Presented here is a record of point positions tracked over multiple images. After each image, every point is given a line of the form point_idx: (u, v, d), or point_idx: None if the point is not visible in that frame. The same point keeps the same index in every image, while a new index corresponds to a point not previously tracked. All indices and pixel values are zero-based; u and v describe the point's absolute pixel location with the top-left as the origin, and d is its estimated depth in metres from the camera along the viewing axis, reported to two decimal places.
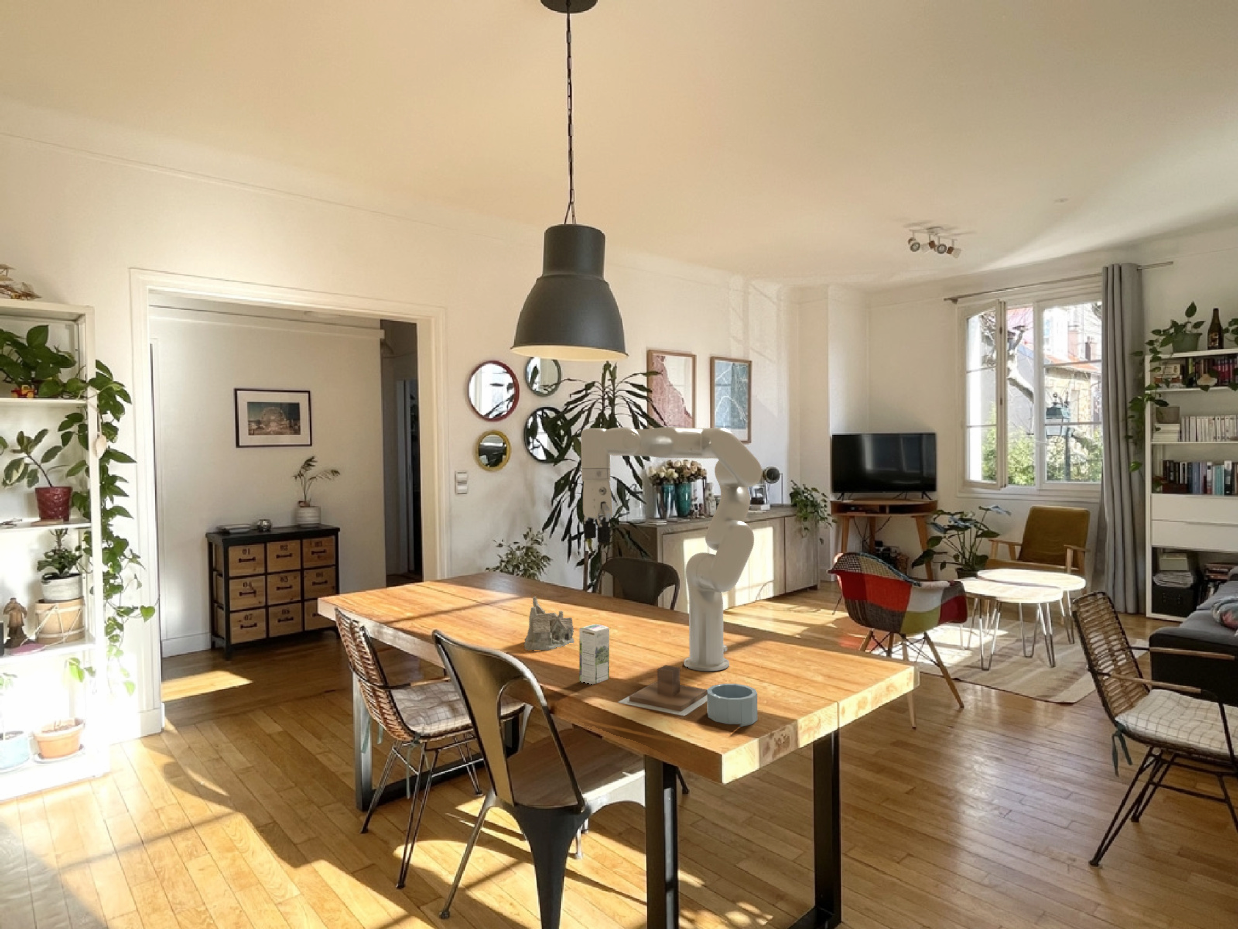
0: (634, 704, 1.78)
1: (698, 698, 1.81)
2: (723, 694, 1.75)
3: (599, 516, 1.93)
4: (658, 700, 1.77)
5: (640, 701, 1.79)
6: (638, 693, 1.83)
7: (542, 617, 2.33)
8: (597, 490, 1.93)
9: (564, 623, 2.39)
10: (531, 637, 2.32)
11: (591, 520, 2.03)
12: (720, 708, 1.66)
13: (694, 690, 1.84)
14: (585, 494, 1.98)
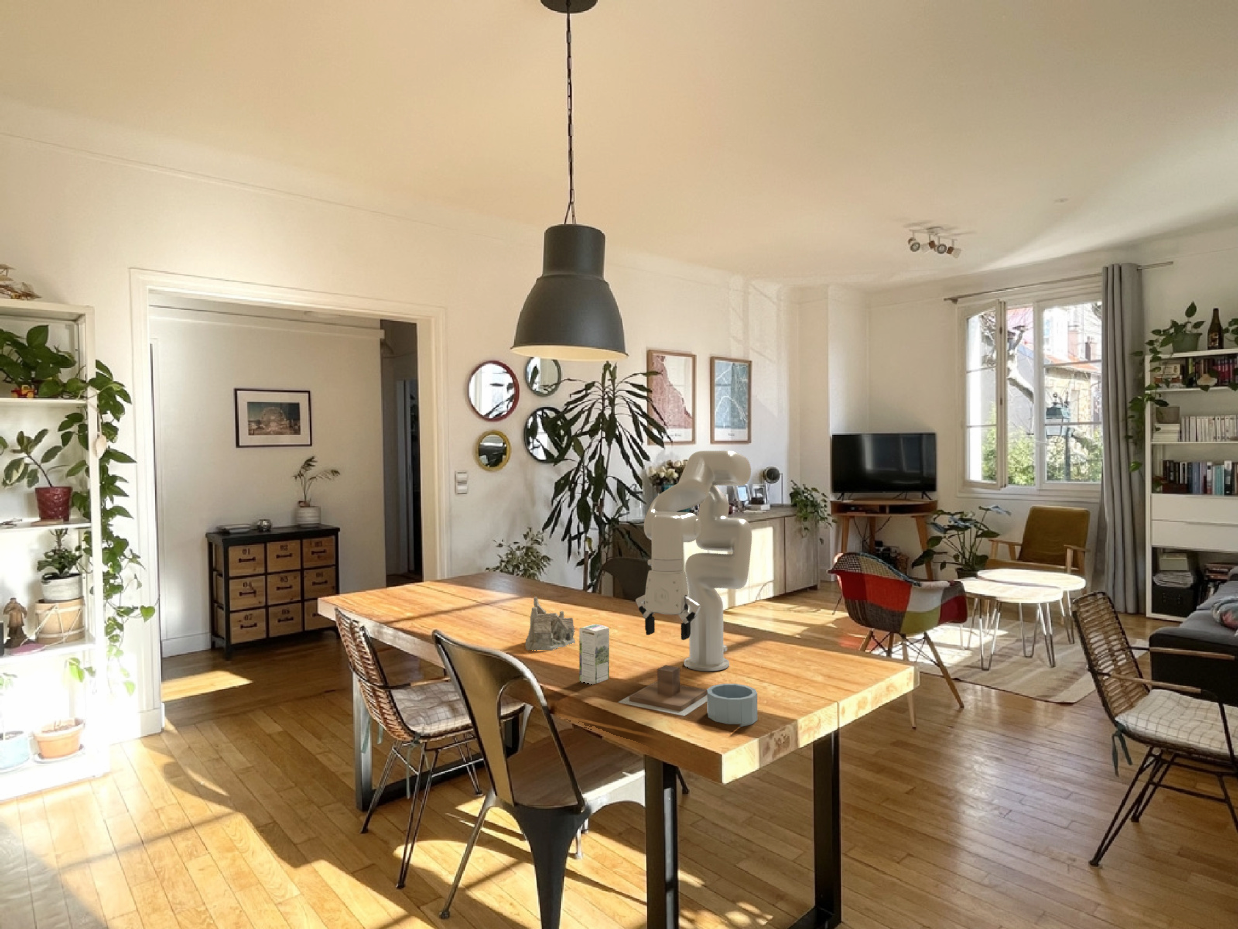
0: (634, 704, 1.78)
1: (698, 698, 1.81)
2: (723, 694, 1.75)
3: None
4: (658, 700, 1.77)
5: (640, 701, 1.79)
6: (638, 693, 1.83)
7: (543, 617, 2.33)
8: None
9: (565, 623, 2.39)
10: (532, 637, 2.31)
11: None
12: (720, 708, 1.66)
13: (694, 690, 1.84)
14: None
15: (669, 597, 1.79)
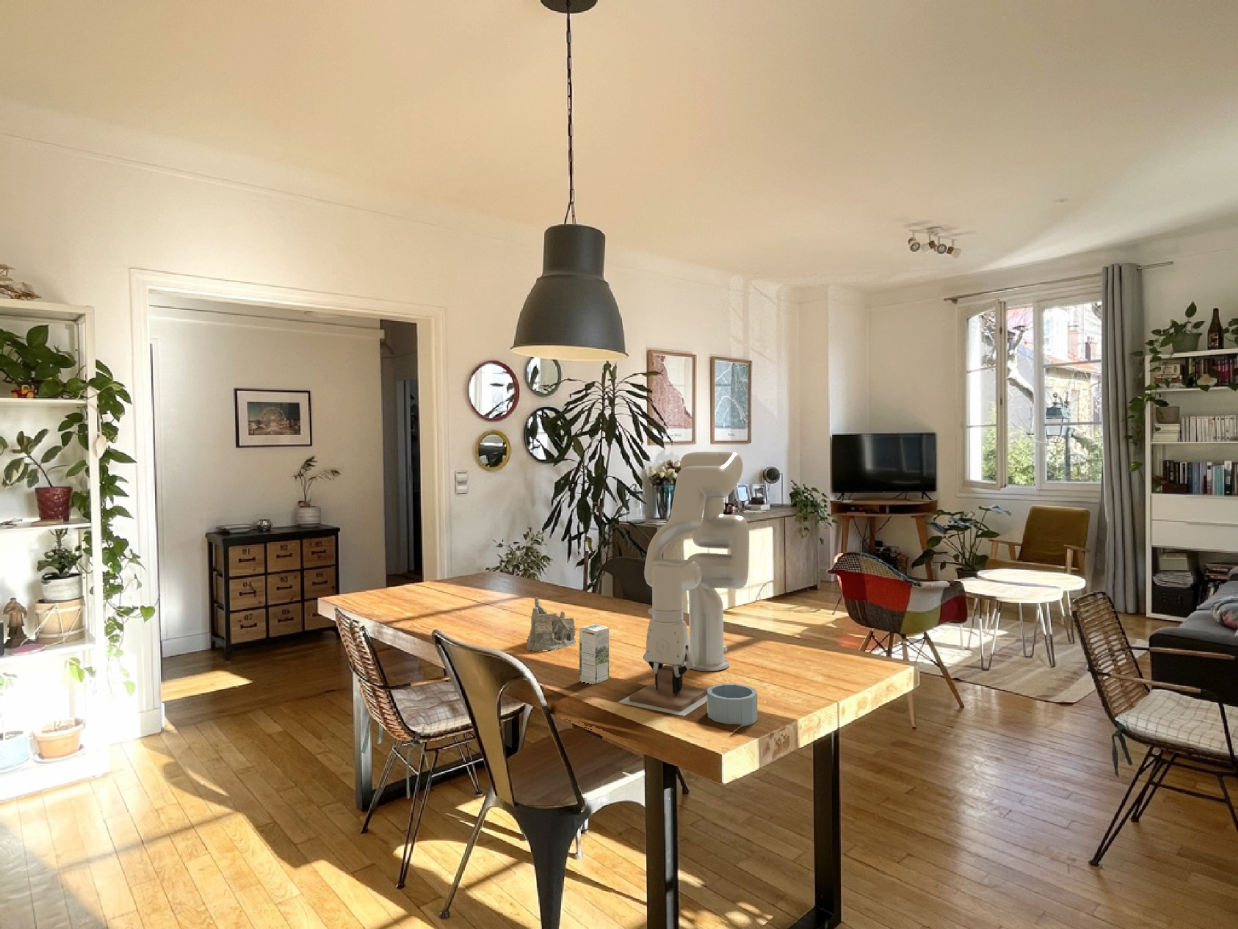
0: (634, 704, 1.78)
1: (698, 698, 1.81)
2: (723, 694, 1.75)
3: None
4: (658, 700, 1.77)
5: (640, 701, 1.79)
6: (638, 693, 1.83)
7: (544, 617, 2.32)
8: None
9: (566, 623, 2.38)
10: (533, 638, 2.31)
11: None
12: (720, 708, 1.66)
13: (694, 690, 1.84)
14: None
15: (670, 648, 1.79)
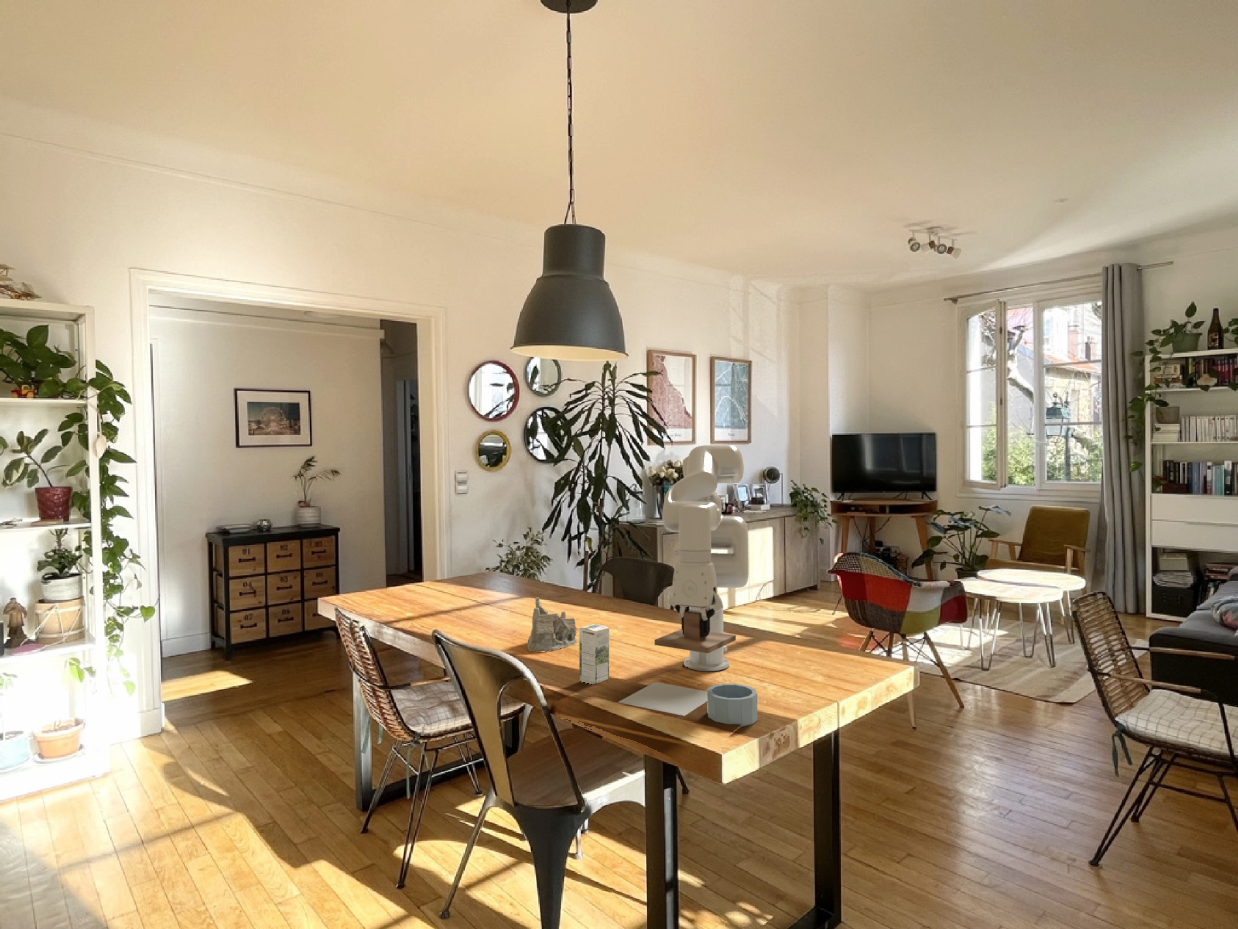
0: (634, 704, 1.78)
1: (726, 642, 1.74)
2: (723, 694, 1.75)
3: None
4: (685, 643, 1.71)
5: (666, 644, 1.73)
6: (663, 637, 1.77)
7: (545, 618, 2.32)
8: None
9: (567, 624, 2.38)
10: (534, 638, 2.31)
11: None
12: (720, 708, 1.66)
13: (722, 635, 1.78)
14: None
15: (697, 589, 1.73)
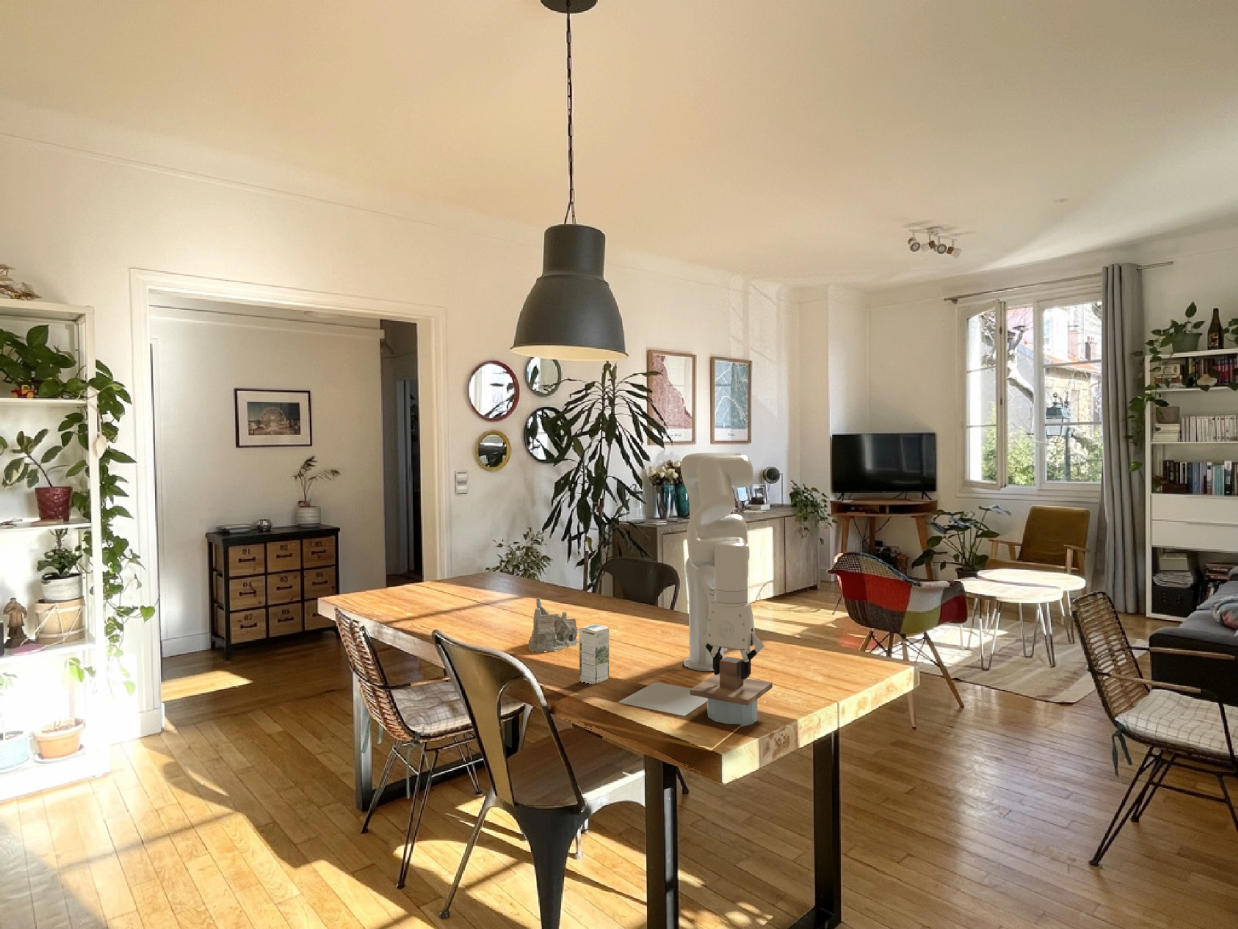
0: (634, 704, 1.78)
1: (764, 691, 1.68)
2: None
3: None
4: (722, 693, 1.65)
5: (702, 695, 1.67)
6: (698, 686, 1.71)
7: (546, 618, 2.32)
8: None
9: (568, 624, 2.38)
10: (536, 638, 2.30)
11: None
12: (720, 708, 1.66)
13: (758, 683, 1.72)
14: None
15: (734, 631, 1.67)
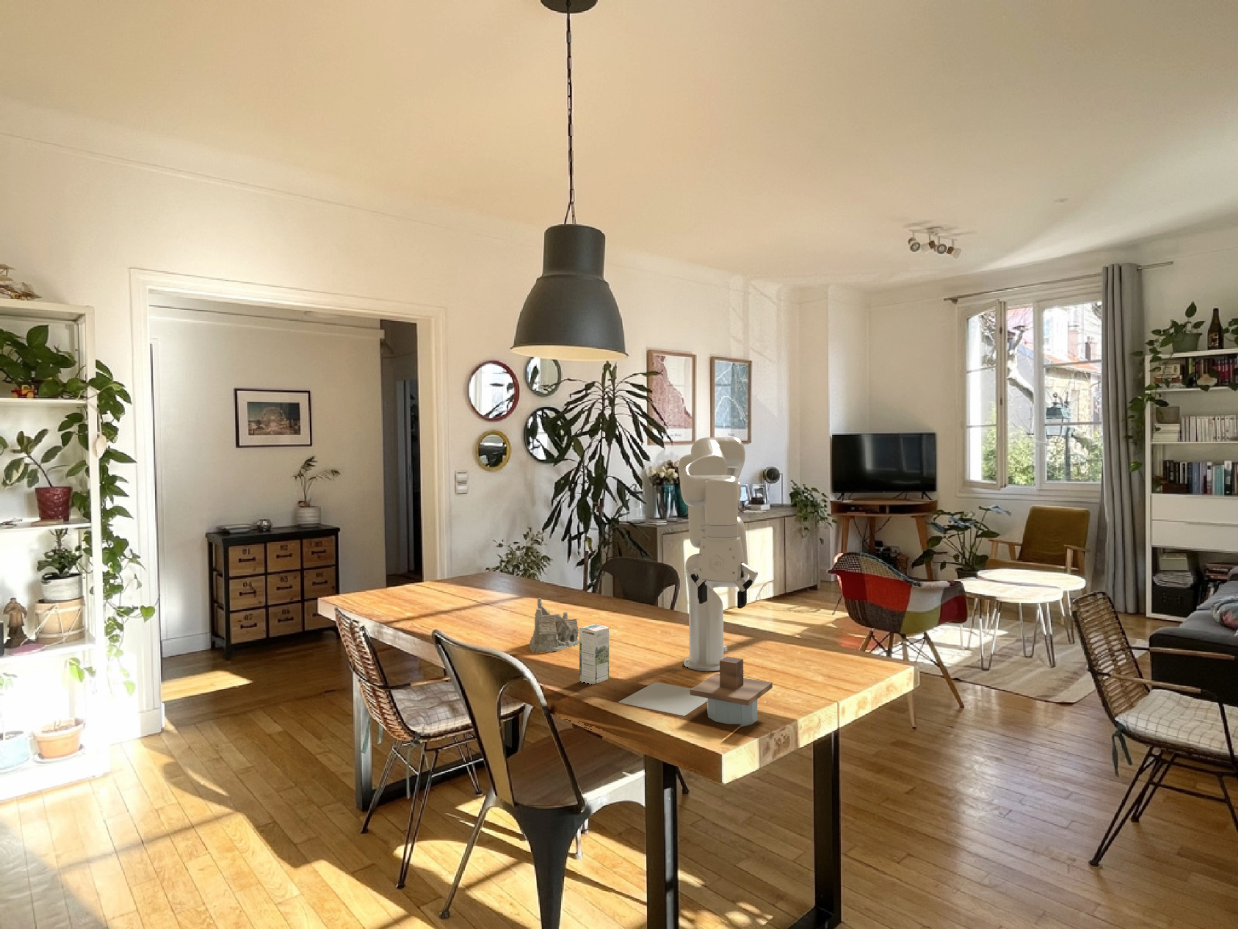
0: (634, 704, 1.78)
1: (764, 691, 1.68)
2: None
3: None
4: (722, 693, 1.65)
5: (702, 695, 1.67)
6: (698, 686, 1.71)
7: (548, 618, 2.31)
8: None
9: (569, 624, 2.37)
10: (537, 639, 2.29)
11: None
12: (720, 708, 1.66)
13: (758, 683, 1.72)
14: None
15: (725, 564, 1.70)
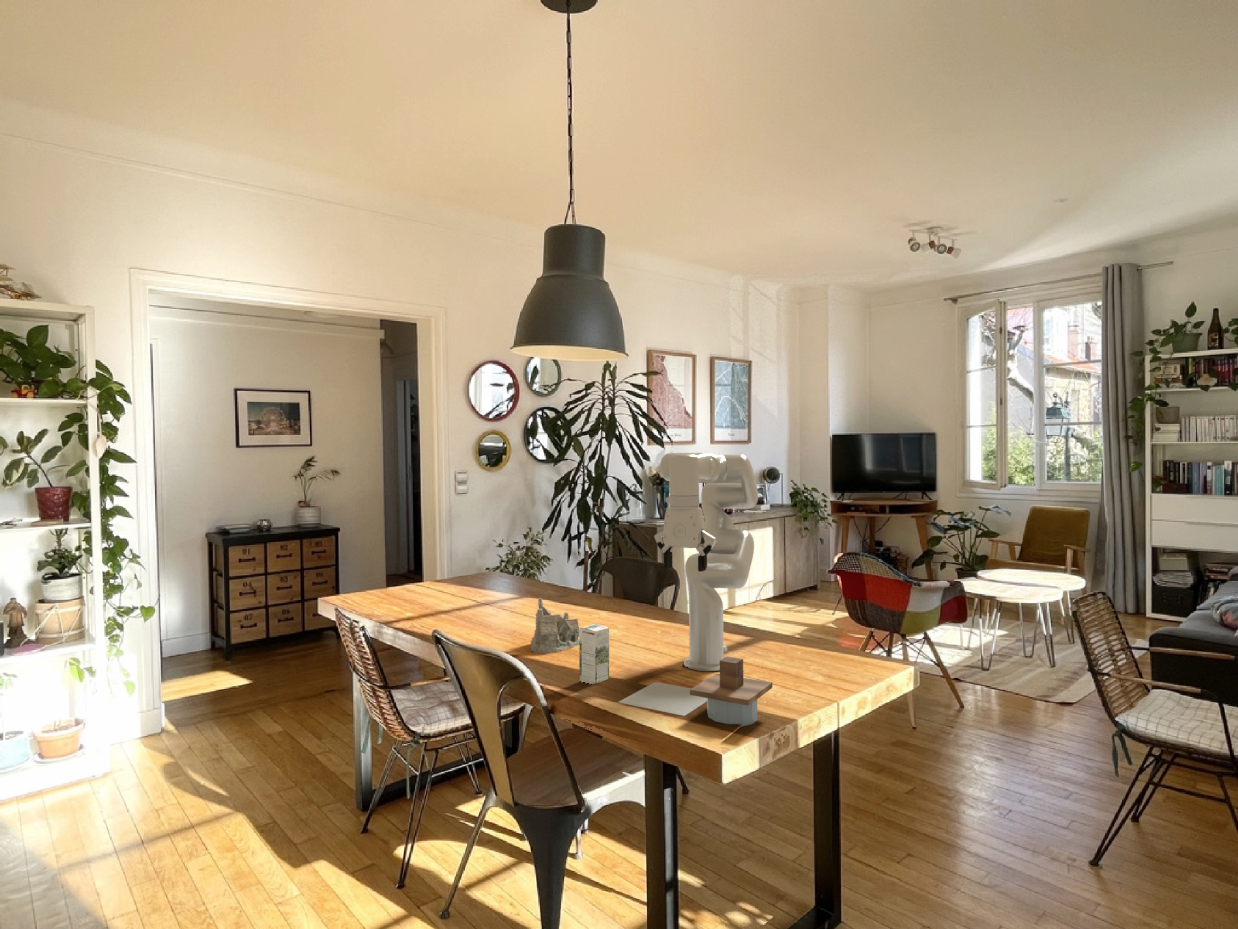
0: (634, 704, 1.78)
1: (764, 691, 1.68)
2: None
3: None
4: (722, 693, 1.65)
5: (702, 695, 1.67)
6: (698, 686, 1.71)
7: (549, 619, 2.31)
8: None
9: (570, 624, 2.37)
10: (538, 639, 2.29)
11: None
12: (720, 708, 1.66)
13: (758, 683, 1.72)
14: None
15: (686, 531, 1.88)
